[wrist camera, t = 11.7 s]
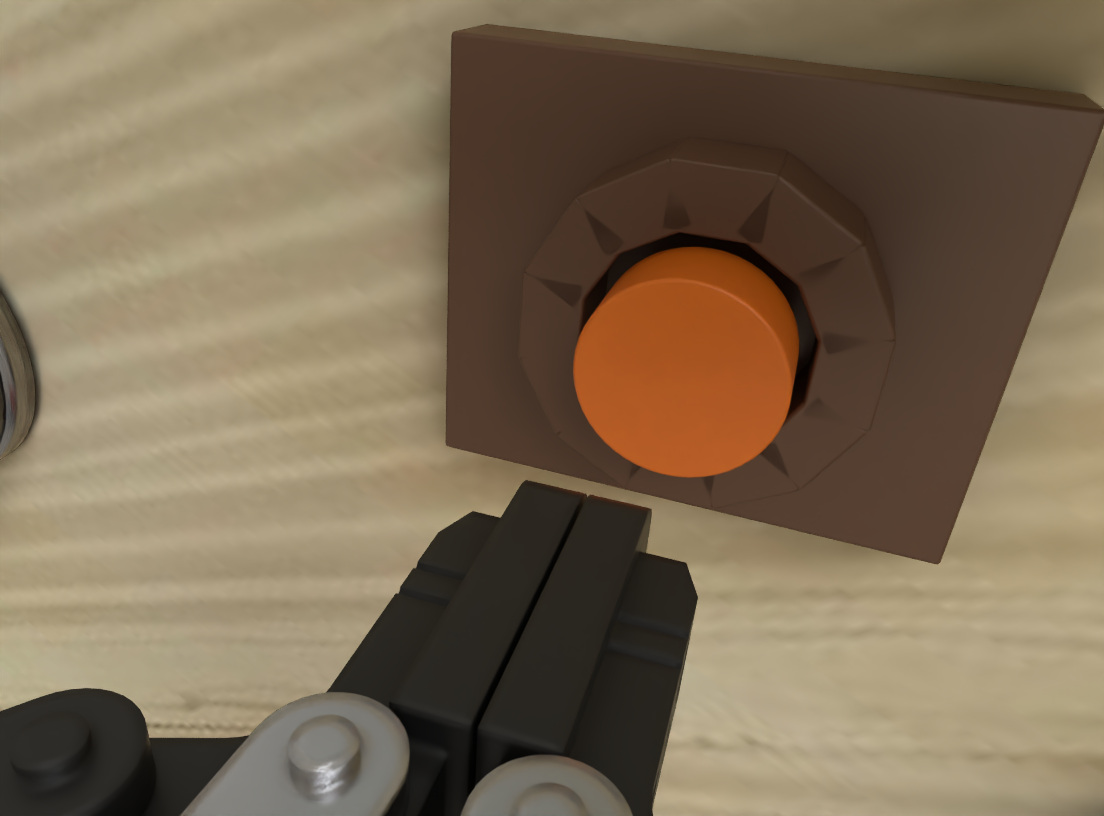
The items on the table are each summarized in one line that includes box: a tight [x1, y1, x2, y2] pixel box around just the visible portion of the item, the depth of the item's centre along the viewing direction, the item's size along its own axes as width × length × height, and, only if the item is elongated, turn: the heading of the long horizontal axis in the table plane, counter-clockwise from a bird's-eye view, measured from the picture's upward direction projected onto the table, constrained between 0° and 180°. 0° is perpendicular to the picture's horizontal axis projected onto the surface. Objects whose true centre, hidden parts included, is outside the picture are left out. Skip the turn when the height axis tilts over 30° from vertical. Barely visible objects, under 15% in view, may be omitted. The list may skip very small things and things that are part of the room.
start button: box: [573, 247, 799, 478], centre depth 15 cm, size 4×4×2 cm
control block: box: [446, 24, 1104, 564], centre depth 17 cm, size 11×9×4 cm
